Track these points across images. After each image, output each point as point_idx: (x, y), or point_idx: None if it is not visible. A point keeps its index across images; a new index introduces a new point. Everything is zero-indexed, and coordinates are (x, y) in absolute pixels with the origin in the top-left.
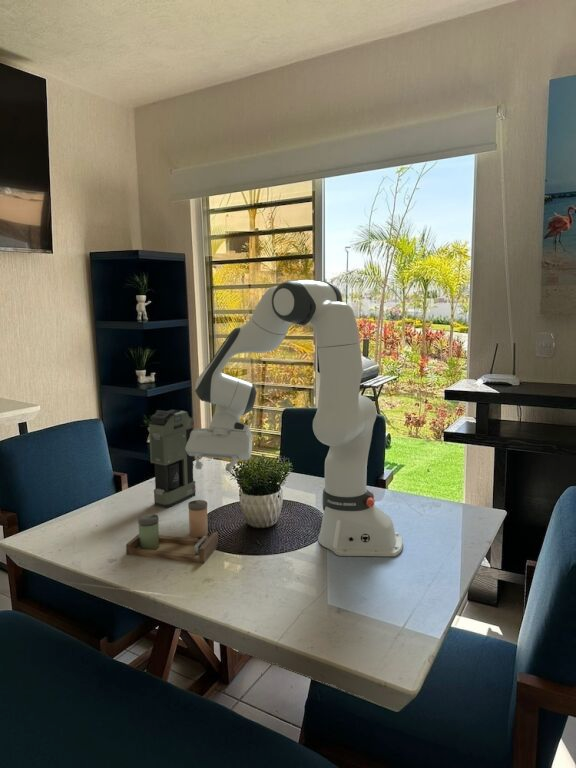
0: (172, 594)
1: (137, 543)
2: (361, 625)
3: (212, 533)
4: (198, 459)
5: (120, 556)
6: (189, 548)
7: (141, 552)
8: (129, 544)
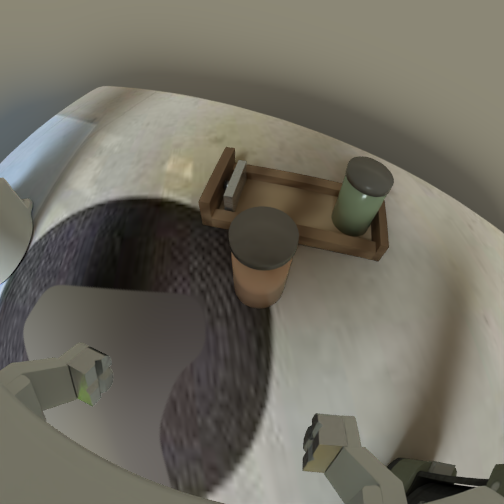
0: (260, 121)
1: None
2: (89, 111)
3: (211, 196)
4: (352, 492)
5: None
6: None
7: None
8: None
